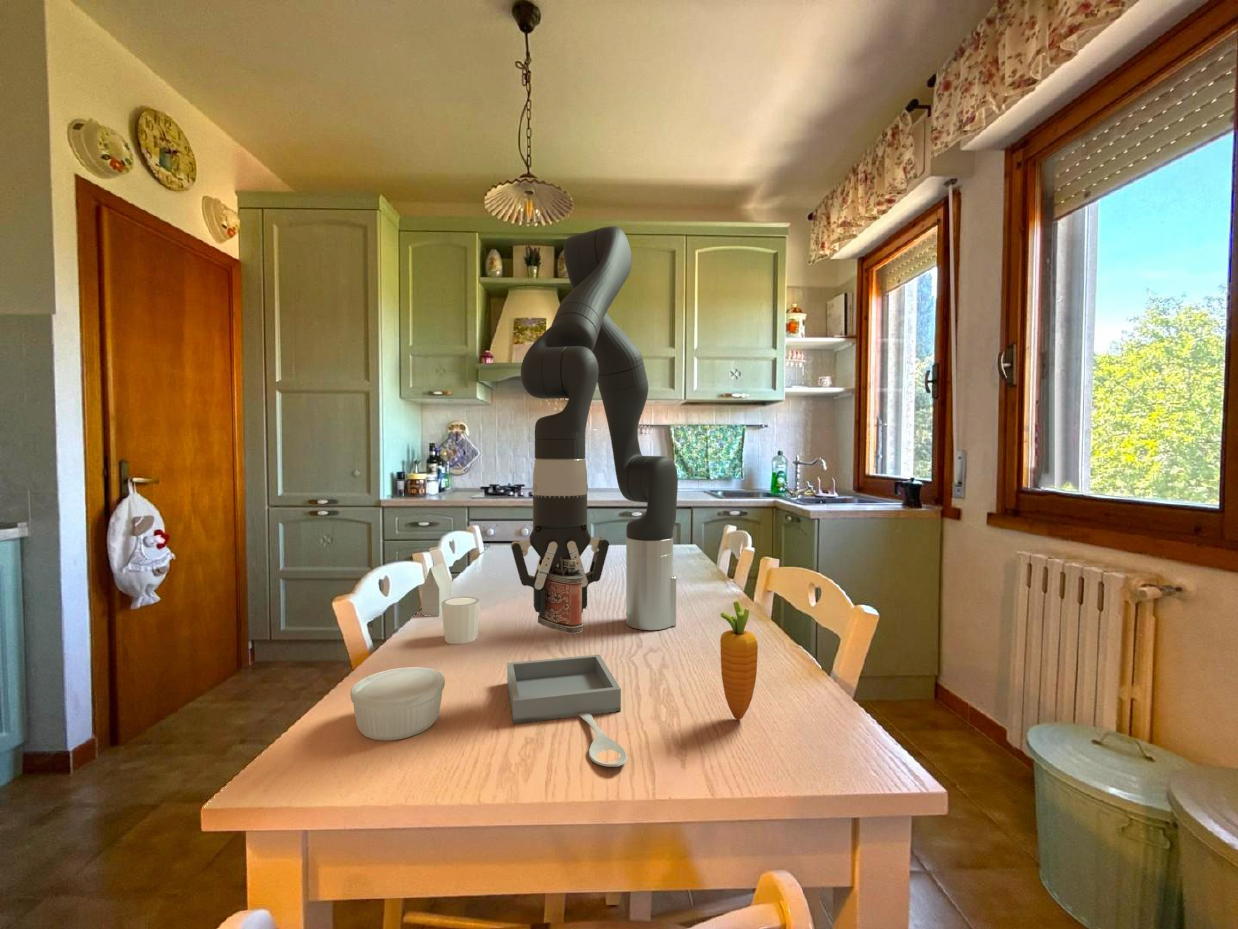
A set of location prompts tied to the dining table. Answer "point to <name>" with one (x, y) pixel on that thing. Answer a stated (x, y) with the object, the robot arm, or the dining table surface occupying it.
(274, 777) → the dining table surface
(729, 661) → the carrot
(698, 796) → the dining table surface
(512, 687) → the tray
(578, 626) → the lighter
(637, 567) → the robot arm
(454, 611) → the cream cup
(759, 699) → the dining table surface
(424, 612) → the white milk carton
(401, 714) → the ramekin
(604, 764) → the spoon
